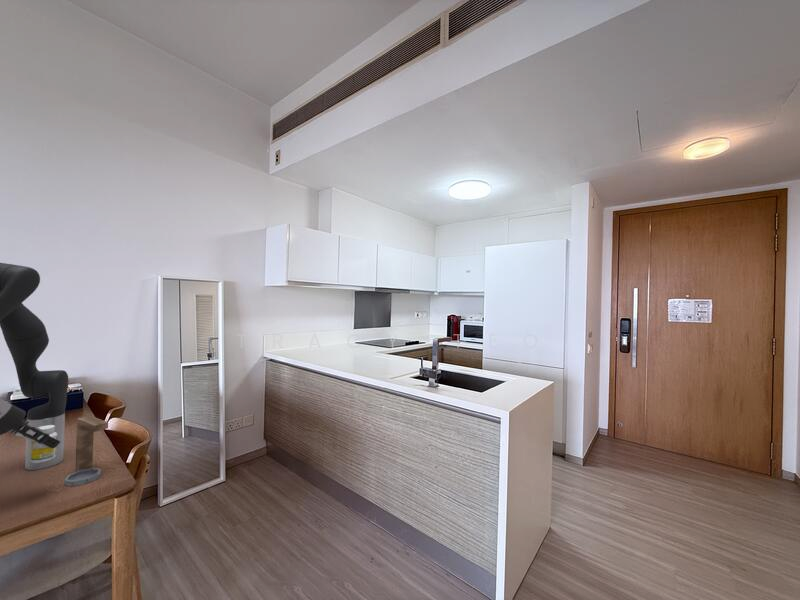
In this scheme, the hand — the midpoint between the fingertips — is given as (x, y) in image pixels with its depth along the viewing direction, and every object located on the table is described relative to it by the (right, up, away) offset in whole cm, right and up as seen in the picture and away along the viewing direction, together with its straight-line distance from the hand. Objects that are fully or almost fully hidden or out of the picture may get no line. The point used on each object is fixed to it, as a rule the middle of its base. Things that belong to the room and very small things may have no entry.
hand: (52, 442), depth 101 cm
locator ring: (+3, -15, +7) cm, 17 cm away
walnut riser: (+2, -15, +10) cm, 18 cm away
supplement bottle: (-1, -4, -2) cm, 5 cm away
